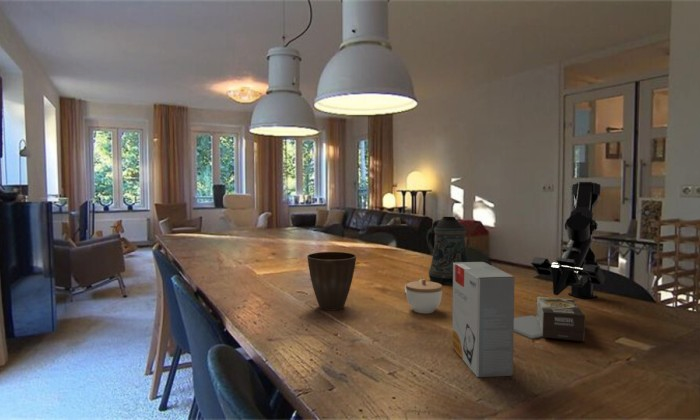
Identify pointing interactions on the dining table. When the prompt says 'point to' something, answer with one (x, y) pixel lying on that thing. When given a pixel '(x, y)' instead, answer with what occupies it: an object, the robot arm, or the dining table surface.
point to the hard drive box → (483, 318)
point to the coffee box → (560, 319)
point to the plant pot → (331, 277)
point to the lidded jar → (423, 295)
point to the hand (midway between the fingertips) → (555, 294)
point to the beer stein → (446, 249)
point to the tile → (528, 327)
